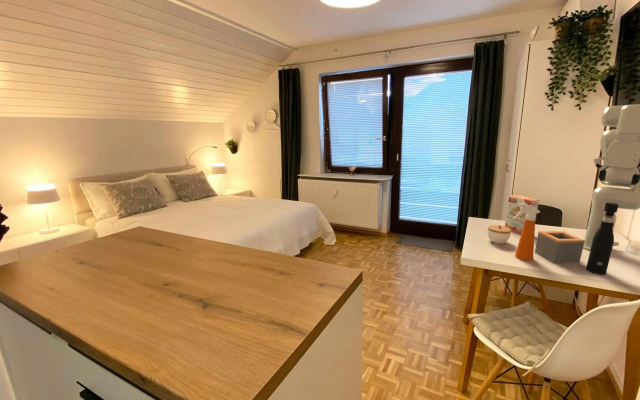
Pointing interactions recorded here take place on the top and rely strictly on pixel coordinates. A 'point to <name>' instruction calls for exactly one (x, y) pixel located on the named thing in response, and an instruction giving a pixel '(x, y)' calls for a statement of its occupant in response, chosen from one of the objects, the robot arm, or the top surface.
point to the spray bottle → (527, 233)
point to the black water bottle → (602, 242)
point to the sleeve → (559, 246)
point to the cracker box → (514, 209)
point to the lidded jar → (498, 234)
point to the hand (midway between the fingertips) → (617, 182)
